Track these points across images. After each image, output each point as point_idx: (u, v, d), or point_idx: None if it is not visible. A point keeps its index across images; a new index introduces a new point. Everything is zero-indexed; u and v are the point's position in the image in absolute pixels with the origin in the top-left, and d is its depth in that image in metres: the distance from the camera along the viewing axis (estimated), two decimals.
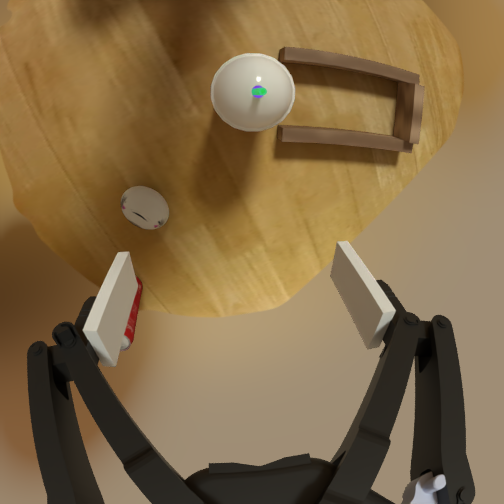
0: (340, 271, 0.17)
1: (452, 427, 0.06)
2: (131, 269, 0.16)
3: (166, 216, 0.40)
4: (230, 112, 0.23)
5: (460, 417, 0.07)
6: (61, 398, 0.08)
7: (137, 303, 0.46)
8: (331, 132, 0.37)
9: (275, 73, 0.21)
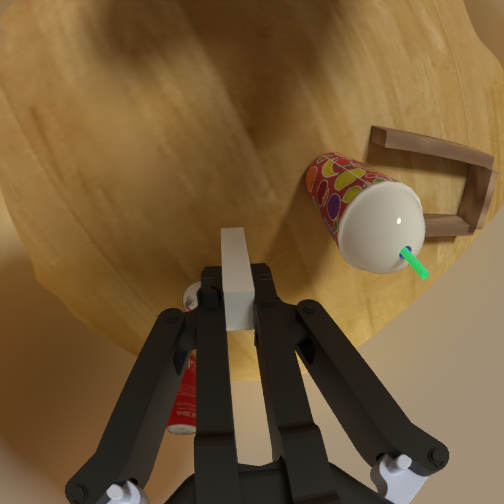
0: None
1: (381, 409, 0.08)
2: None
3: None
4: (364, 265, 0.21)
5: (383, 394, 0.08)
6: (172, 373, 0.10)
7: None
8: None
9: (421, 225, 0.18)
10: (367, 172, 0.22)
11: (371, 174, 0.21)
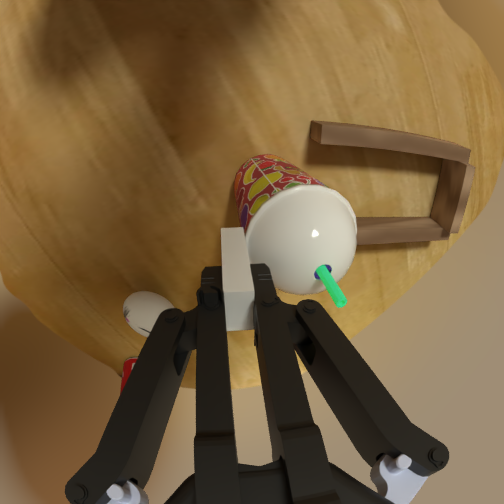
0: None
1: (381, 409, 0.08)
2: None
3: None
4: (277, 287, 0.19)
5: (383, 394, 0.08)
6: (172, 373, 0.10)
7: None
8: (368, 231, 0.32)
9: (345, 237, 0.16)
10: (284, 176, 0.20)
11: (287, 178, 0.19)
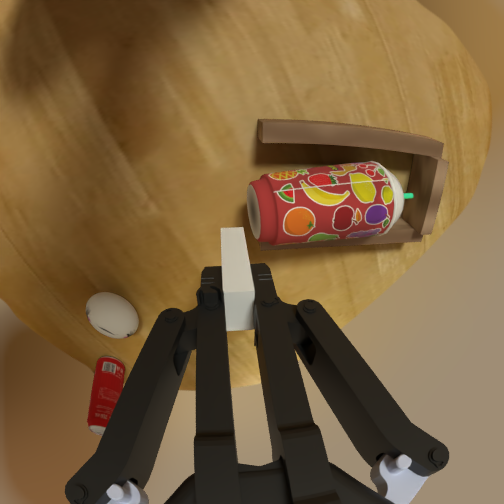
0: None
1: (381, 409, 0.08)
2: None
3: (135, 326, 0.35)
4: None
5: (383, 394, 0.08)
6: (172, 373, 0.10)
7: (120, 390, 0.41)
8: None
9: None
10: (363, 172, 0.25)
11: (368, 172, 0.25)
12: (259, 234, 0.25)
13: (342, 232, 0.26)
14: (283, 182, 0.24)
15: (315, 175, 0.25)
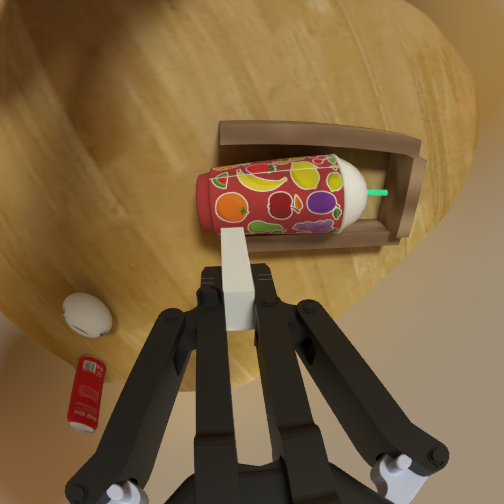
0: None
1: (381, 409, 0.08)
2: None
3: (108, 326, 0.34)
4: (356, 220, 0.27)
5: (383, 394, 0.08)
6: (172, 373, 0.10)
7: (99, 388, 0.40)
8: (289, 236, 0.31)
9: None
10: (308, 161, 0.25)
11: (315, 160, 0.25)
12: (199, 221, 0.27)
13: (284, 222, 0.26)
14: (221, 171, 0.25)
15: (255, 165, 0.26)
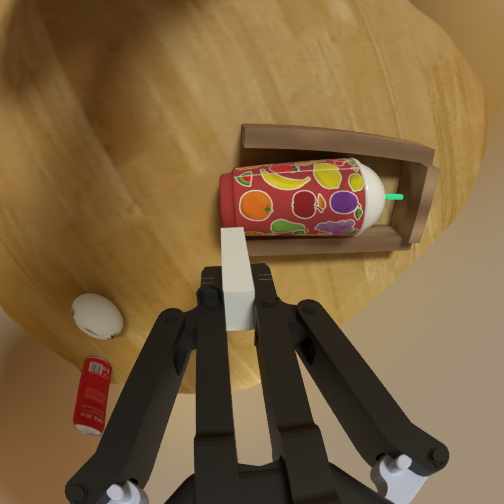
0: None
1: (381, 409, 0.08)
2: None
3: (119, 328, 0.34)
4: (375, 222, 0.27)
5: (383, 394, 0.08)
6: (172, 373, 0.10)
7: (106, 391, 0.40)
8: (307, 240, 0.31)
9: None
10: (330, 163, 0.25)
11: (336, 162, 0.25)
12: (221, 219, 0.26)
13: (307, 221, 0.25)
14: (244, 170, 0.26)
15: (278, 165, 0.26)
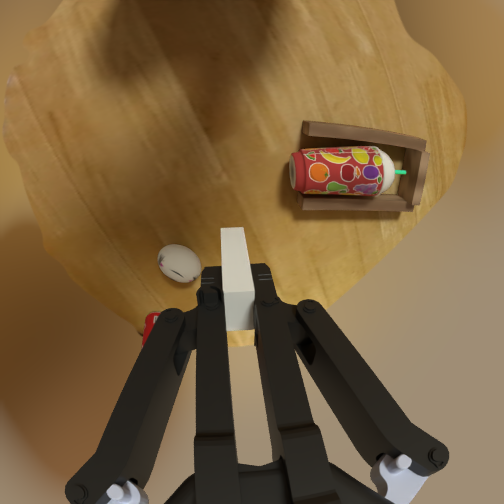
0: None
1: (381, 409, 0.08)
2: None
3: (200, 272, 0.47)
4: (389, 187, 0.40)
5: (383, 394, 0.08)
6: (172, 373, 0.10)
7: None
8: (345, 200, 0.44)
9: None
10: (360, 148, 0.38)
11: (364, 148, 0.38)
12: (295, 181, 0.39)
13: (349, 183, 0.38)
14: (309, 150, 0.39)
15: (329, 148, 0.39)
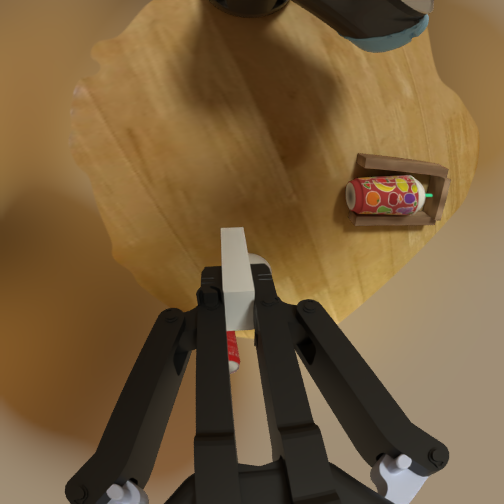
0: None
1: (381, 409, 0.08)
2: None
3: None
4: (420, 208, 0.49)
5: (383, 394, 0.08)
6: (172, 373, 0.10)
7: None
8: (386, 217, 0.53)
9: None
10: (401, 178, 0.47)
11: (404, 178, 0.47)
12: (354, 205, 0.49)
13: (393, 207, 0.48)
14: (365, 180, 0.48)
15: (379, 178, 0.48)
